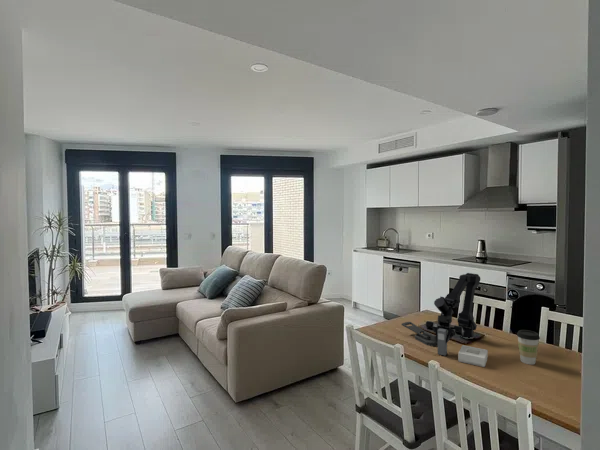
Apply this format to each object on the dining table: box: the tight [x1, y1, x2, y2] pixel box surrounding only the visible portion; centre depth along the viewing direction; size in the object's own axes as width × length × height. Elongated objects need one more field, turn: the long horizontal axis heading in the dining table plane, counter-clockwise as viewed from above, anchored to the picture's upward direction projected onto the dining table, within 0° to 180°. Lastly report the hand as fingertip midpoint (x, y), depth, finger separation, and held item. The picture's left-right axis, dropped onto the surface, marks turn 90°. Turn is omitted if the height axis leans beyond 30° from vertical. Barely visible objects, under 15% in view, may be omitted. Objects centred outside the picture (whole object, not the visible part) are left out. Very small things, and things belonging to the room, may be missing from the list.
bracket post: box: [437, 328, 448, 357], centre depth 183 cm, size 5×4×13 cm
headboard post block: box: [457, 344, 489, 368], centre depth 176 cm, size 12×12×4 cm
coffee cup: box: [516, 329, 541, 365], centre depth 172 cm, size 10×10×15 cm
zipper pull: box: [401, 321, 438, 347], centre depth 207 cm, size 9×7×25 cm
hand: (441, 342), depth 182 cm, fingers closed on bracket post, 4 cm apart
